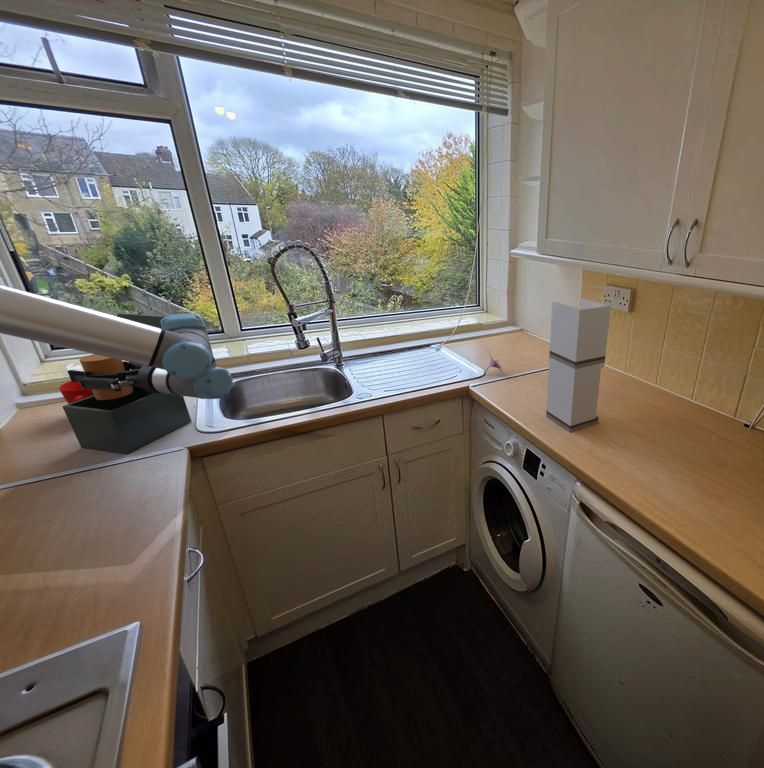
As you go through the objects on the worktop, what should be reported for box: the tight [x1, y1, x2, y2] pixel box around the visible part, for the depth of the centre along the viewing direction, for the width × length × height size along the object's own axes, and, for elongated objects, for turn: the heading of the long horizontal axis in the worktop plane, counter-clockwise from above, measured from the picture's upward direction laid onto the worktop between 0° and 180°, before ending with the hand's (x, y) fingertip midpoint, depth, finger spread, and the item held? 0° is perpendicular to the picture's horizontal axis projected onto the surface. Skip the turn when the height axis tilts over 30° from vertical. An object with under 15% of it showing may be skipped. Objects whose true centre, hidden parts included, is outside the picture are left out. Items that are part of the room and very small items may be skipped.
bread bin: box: [62, 386, 192, 455], centre depth 108 cm, size 18×15×12 cm
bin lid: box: [116, 312, 166, 329], centre depth 111 cm, size 18×15×1 cm
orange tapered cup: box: [79, 353, 133, 400], centre depth 100 cm, size 7×7×10 cm
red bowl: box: [58, 380, 94, 404], centre depth 118 cm, size 13×17×10 cm
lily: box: [483, 348, 505, 376], centre depth 154 cm, size 12×12×10 cm
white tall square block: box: [545, 298, 612, 433], centre depth 115 cm, size 11×11×35 cm
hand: (89, 370), depth 100 cm, fingers closed on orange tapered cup, 7 cm apart
